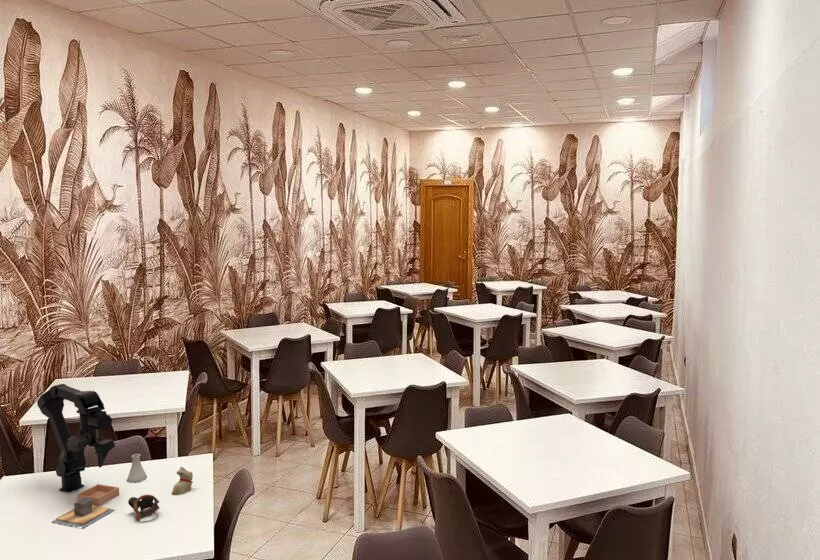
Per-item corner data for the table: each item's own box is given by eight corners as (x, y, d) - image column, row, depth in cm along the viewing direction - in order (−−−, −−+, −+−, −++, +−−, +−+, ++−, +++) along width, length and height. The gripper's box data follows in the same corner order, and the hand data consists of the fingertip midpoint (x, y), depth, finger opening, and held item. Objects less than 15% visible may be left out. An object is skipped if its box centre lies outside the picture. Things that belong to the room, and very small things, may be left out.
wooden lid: (56, 520, 216) (55, 505, 216) (83, 505, 228) (83, 491, 227) (83, 525, 213) (82, 510, 212) (110, 510, 224) (109, 496, 223)
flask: (139, 483, 248) (138, 459, 247) (123, 482, 249) (122, 458, 248) (150, 476, 255) (149, 452, 254) (134, 475, 256) (133, 451, 255)
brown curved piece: (165, 509, 227) (164, 495, 222) (150, 531, 219) (149, 517, 214) (135, 499, 228) (133, 485, 223) (119, 521, 220) (117, 507, 215)
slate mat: (51, 522, 216) (51, 521, 215) (83, 505, 229) (83, 504, 229) (83, 528, 211) (83, 527, 211) (114, 510, 225) (114, 509, 225)
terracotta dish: (77, 502, 231) (76, 494, 231) (98, 491, 240) (97, 483, 240) (98, 506, 228) (98, 498, 228) (119, 494, 237) (118, 487, 237)
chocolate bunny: (193, 492, 240) (192, 467, 239) (171, 495, 237) (170, 470, 236) (192, 487, 245) (192, 462, 244) (171, 490, 242) (170, 465, 241)
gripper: (51, 429, 229) (53, 470, 230) (91, 435, 223) (93, 477, 225) (75, 420, 239) (77, 459, 241) (114, 425, 234) (116, 465, 235)
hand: (90, 465), depth 235 cm, fingers open, 9 cm apart
